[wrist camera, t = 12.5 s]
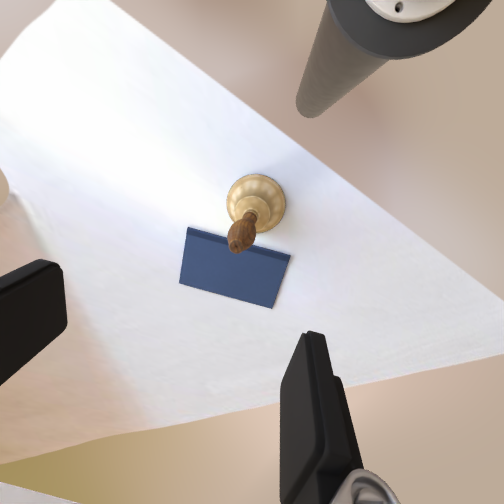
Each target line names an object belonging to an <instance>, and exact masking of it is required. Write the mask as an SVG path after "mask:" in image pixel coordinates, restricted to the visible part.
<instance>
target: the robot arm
mask: <svg viewBox="0 0 504 504" xmlns="http://www.w3.org/2000/svg"><path fill="white" fill-rule="evenodd" d="M365 1H366V2H367V4H368V5H369V6H370V7H371V8H372V9H373V10H374V12H376V13H377V14H379V15H380V16H382V17H383V18H385V19H388V20H391V21H394V22H401V23H410V22H416V21H421V20H423V19H426V18H429V17H431V16H433V15H435V14H437V13H438V12H440V11H442V10H444V9H445V8H446V7H447V6H449V5H450V4H451V3H452V2H454V1H455V0H365ZM395 9H398V13H397V12H396V11H395ZM66 327H67V311H66V301H65V290H64V279H63V271H62V269H61V268H60V266H59V264H57V263H55V262H51V261H47V260H43V259H38V260H35V261H33V262H31V263H29V264H27V265H25V266H22V267H20V268H18V269H16V270H14V271H12V272H10V273H8V274H5V275H3V276H1V277H0V386H1V385H2V384H3V383H4V382H5V381H6V380H8V379H9V378H10V377H11V376H12V375H13V374H15V373H16V372H17V371H18V370H19V369H20V368H22V367H23V366H24V365H25V364H26V363H27V362H29V361H30V360H31V359H32V358H33V357H34V356H36V355H37V354H38V353H39V352H40V351H41V350H43V349H44V348H45V347H46V346H47V345H48V344H49V343H51V342H52V341H53V340H54V339H55V338H56V337H58V336H59V335H60V334H61V333H62V332H63V331H64V330H65V329H66ZM280 502H281V504H401V503H400V502H399V500H398V499H397V497H396V495H395V493H394V492H393V491H392V490H391V488H390V487H389V486H388V485H387V483H385V481H383V480H382V479H381V478H380V477H379V476H378V475H376V474H374V473H372V472H370V471H369V470H365V469H364V467H363V463H362V459H361V456H360V451H359V447H358V443H357V439H356V436H355V432H354V428H353V424H352V420H351V416H350V412H349V408H348V404H347V400H346V396H345V392H344V388H343V384H342V381H341V379H340V378H339V377H338V376H334V375H333V370H332V366H331V362H330V357H329V353H328V348H327V344H326V339H325V336H324V335H323V334H320V333H317V332H313V331H308V332H307V334H305V333H302V335H301V337H300V339H299V341H298V344H297V346H296V349H295V351H294V353H293V356H292V358H291V360H290V363H289V365H288V367H287V370H286V372H285V375H284V377H283V379H282V382H281V388H280ZM0 504H80V503H77V502H73V501H69V500H66V499H62V498H58V497H55V496H51V495H47V494H44V493H40V492H36V491H32V490H29V489H25V488H21V487H18V486H14V485H10V484H6V483H3V482H0Z"/></svg>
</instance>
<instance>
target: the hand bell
mask: <svg viewBox="0 0 504 504" xmlns="http://www.w3.org/2000/svg"><path fill="white" fill-rule="evenodd" d="M227 210H228V213H229V216H230V218H231V219H232V221H233V222H234V224H233V225H232V226H231V228H230V229H229V232H228V236H227V238H228V243H229V249H230V251H231V252H233V253H235V254H239V253H241V252H242V251H244V250H247V249H248V248H249V247H250V246H251V245H252V244H253V243H254V240H255V237H256V233H261V232H265V231H268V230H270V229H272V228H273V227H275V226H276V225H277V224H278V223H279V222H280V220H281V219H282V217H283V214H284V211H285V197H284V194H283V191H282V189H281V188H280V186H279V185H278V184H277V183H276V182H275V181H274V180H272V179H271V178H269V177H267V176H264V175H260V174H252V175H247V176H244V177H242V178H240V179H239V180H237V181H236V182H235V183H234V184H233V186H232V187H231V189H230V191H229V193H228V196H227Z"/></svg>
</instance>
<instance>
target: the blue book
mask: <svg viewBox="0 0 504 504" xmlns="http://www.w3.org/2000/svg"><path fill="white" fill-rule="evenodd" d="M186 234H187V235H186V241H185V248H184V254H183V260H182V267H181V273H180V280H179V283H180V284H184V285H187V286H191V287H194V288H198V289H202V290H205V291H209V292H213V293H216V294H220V295H224V296H227V297H231V298H235V299H238V300H242V301H245V302H249V303H253V304H256V305H260V306H264V307H267V308H271V309H272V307H273V304H274V301H275V299H276V296H277V293H278V290H279V287H280V284H281V281H282V279H283V276H284V273H285V270H286V267H287V264H288V262H289V259H290V255H287V254H284V253H280V252H276V251H273V250H269V249H265V248H262V247H258V246H255V245H251V246H250V247H249V248H248V249H247V250H244V251H242V252H241V253H239V254H235V253H233V252H231V251H230V249H229V243H228V238H226V237H222V236H218V235H215V234H211V233H207V232H204V231H200V230H197V229H193V228H189V227H188V228H187V233H186Z"/></svg>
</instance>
